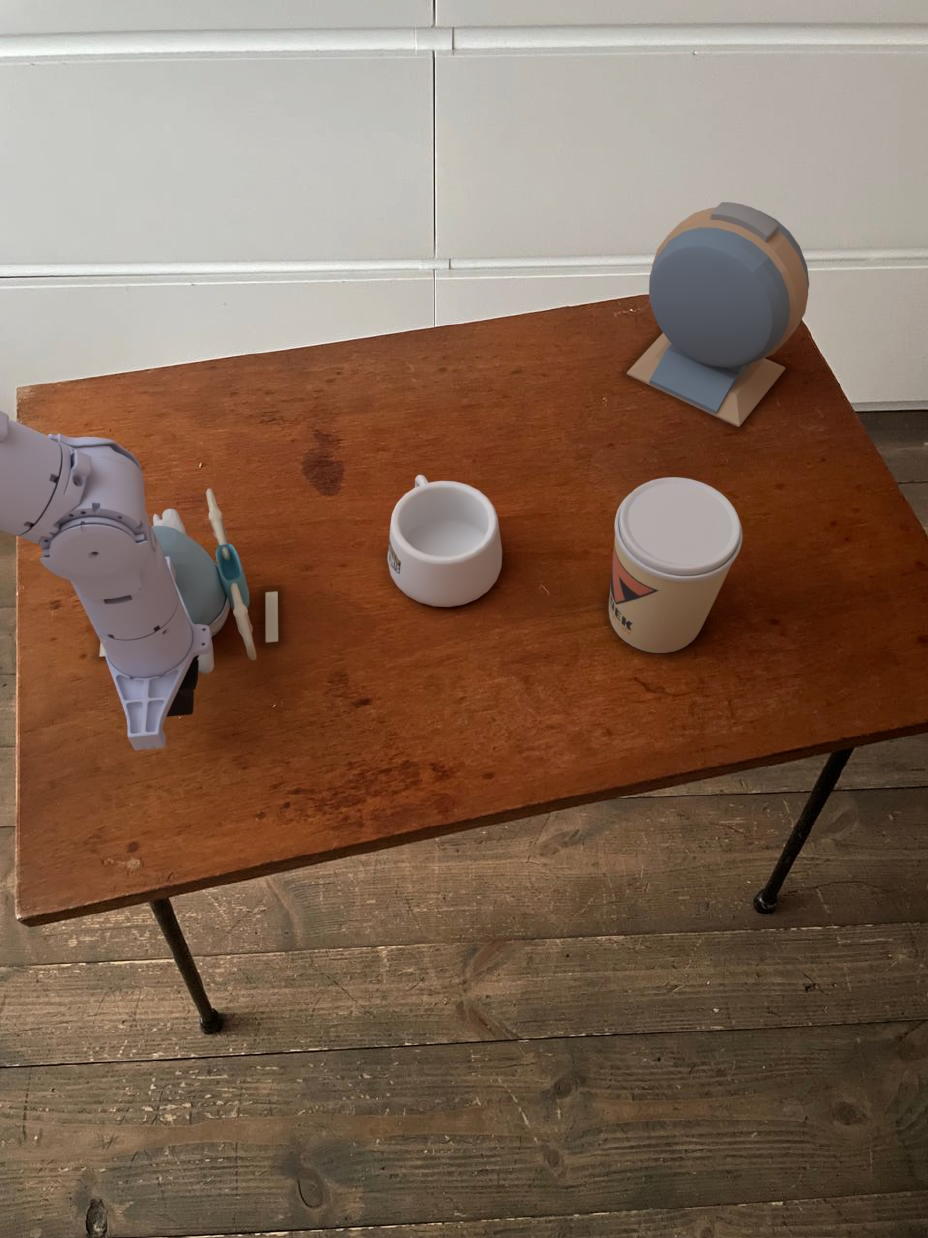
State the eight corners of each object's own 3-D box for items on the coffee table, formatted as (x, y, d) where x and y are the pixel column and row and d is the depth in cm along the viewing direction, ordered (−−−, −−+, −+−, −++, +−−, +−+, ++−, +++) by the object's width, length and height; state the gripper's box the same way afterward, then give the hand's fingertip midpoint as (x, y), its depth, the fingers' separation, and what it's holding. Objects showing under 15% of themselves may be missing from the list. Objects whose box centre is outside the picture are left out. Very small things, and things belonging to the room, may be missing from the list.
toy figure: (111, 564, 90) (56, 438, 78) (233, 534, 92) (199, 407, 80) (141, 728, 81) (85, 616, 69) (275, 691, 83) (244, 576, 71)
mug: (518, 593, 88) (522, 548, 84) (408, 625, 87) (405, 581, 82) (470, 490, 95) (470, 443, 90) (366, 518, 93) (361, 471, 88)
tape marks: (99, 657, 85) (99, 656, 85) (104, 606, 88) (104, 605, 87) (278, 641, 86) (278, 641, 86) (277, 592, 88) (277, 591, 88)
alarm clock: (794, 373, 104) (849, 214, 89) (748, 431, 99) (798, 274, 85) (666, 316, 108) (699, 156, 94) (617, 369, 104) (643, 210, 89)
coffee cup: (588, 575, 90) (604, 479, 80) (696, 564, 90) (726, 468, 80) (610, 668, 84) (631, 578, 74) (725, 656, 85) (760, 565, 75)
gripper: (192, 695, 64) (231, 792, 75) (200, 512, 72) (234, 624, 84) (73, 705, 64) (130, 801, 75) (95, 520, 72) (144, 632, 83)
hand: (179, 708), depth 79 cm, fingers closed
